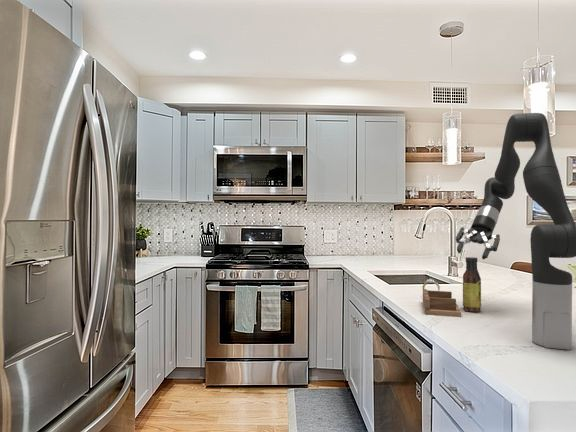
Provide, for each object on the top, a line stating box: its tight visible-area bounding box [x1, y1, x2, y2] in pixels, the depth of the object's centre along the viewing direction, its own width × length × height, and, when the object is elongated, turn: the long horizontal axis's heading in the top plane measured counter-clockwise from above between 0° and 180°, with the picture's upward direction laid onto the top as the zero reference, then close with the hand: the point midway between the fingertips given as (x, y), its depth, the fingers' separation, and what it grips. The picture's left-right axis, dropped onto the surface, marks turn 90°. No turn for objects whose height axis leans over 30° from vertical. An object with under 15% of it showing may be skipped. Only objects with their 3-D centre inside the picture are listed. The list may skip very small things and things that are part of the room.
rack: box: [422, 288, 462, 318], centre depth 150 cm, size 20×12×6 cm, turn 164°
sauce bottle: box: [462, 256, 482, 313], centre depth 147 cm, size 7×6×20 cm
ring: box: [422, 278, 441, 291], centre depth 171 cm, size 7×3×8 cm, turn 58°
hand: (470, 255), depth 143 cm, fingers open, 8 cm apart
